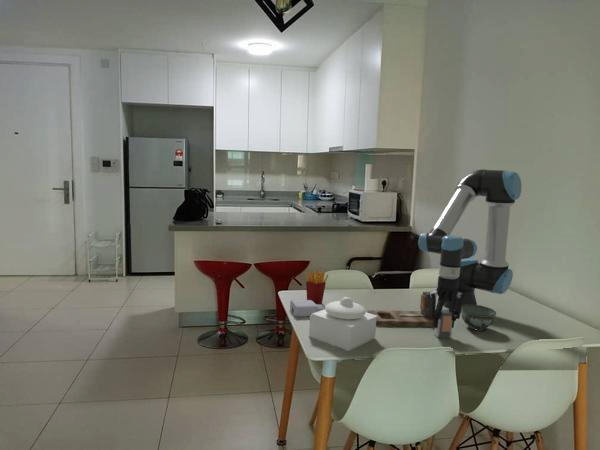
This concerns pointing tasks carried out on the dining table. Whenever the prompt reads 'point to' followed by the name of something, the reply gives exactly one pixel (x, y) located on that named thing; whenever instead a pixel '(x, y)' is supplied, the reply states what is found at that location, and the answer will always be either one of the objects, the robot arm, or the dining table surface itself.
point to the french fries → (316, 287)
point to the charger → (304, 308)
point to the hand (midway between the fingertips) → (442, 335)
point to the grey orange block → (445, 324)
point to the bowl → (477, 316)
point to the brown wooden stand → (406, 315)
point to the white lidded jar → (343, 324)
